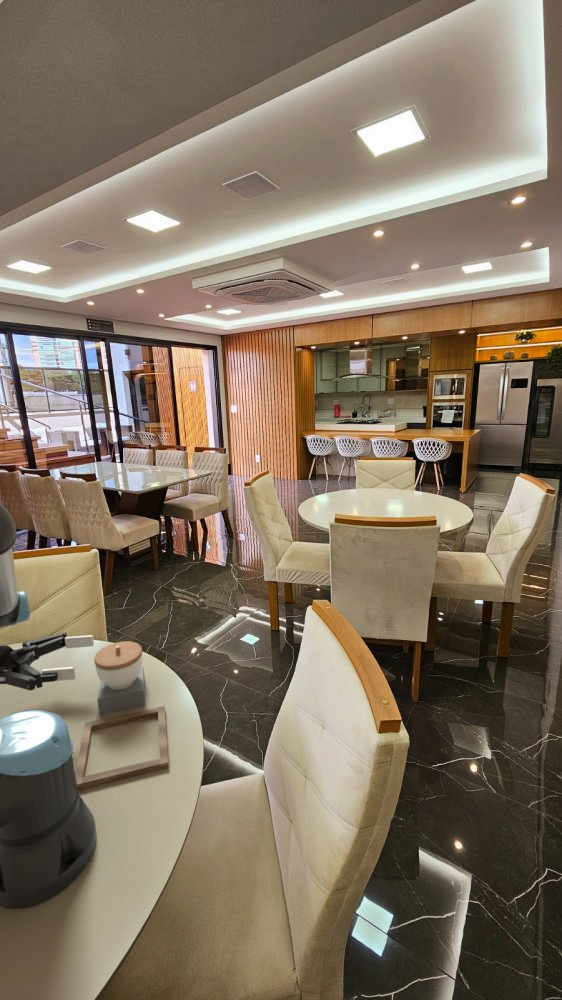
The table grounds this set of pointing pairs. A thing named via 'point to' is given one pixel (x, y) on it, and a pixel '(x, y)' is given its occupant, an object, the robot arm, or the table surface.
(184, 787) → the table surface
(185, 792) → the table surface
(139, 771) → the walnut collar
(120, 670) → the lidded jar
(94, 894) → the table surface
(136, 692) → the gray stand
